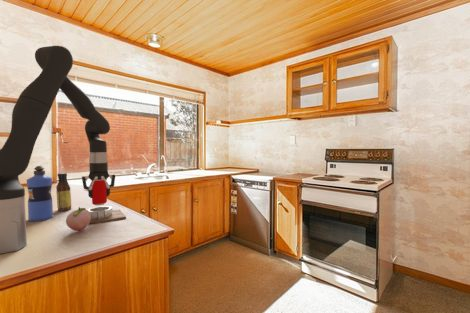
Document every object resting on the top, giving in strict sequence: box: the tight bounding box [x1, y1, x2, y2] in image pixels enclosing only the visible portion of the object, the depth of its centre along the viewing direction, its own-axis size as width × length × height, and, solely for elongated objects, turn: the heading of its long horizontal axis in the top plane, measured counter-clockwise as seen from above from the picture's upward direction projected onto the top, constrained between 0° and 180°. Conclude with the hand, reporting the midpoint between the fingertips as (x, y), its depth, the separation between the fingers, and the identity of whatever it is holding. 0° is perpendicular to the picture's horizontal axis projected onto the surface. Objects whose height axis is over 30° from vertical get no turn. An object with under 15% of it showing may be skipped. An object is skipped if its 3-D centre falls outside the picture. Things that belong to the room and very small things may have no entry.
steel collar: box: [86, 205, 113, 220], centre depth 114 cm, size 10×10×4 cm
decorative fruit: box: [65, 206, 91, 232], centre depth 96 cm, size 9×8×10 cm
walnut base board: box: [88, 208, 127, 226], centre depth 114 cm, size 16×20×1 cm
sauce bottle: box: [55, 172, 72, 212], centre depth 129 cm, size 7×6×20 cm
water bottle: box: [26, 165, 54, 222], centre depth 113 cm, size 9×9×25 cm
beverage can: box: [91, 179, 108, 207], centre depth 114 cm, size 6×6×12 cm
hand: (99, 196), depth 114 cm, fingers closed on beverage can, 6 cm apart
